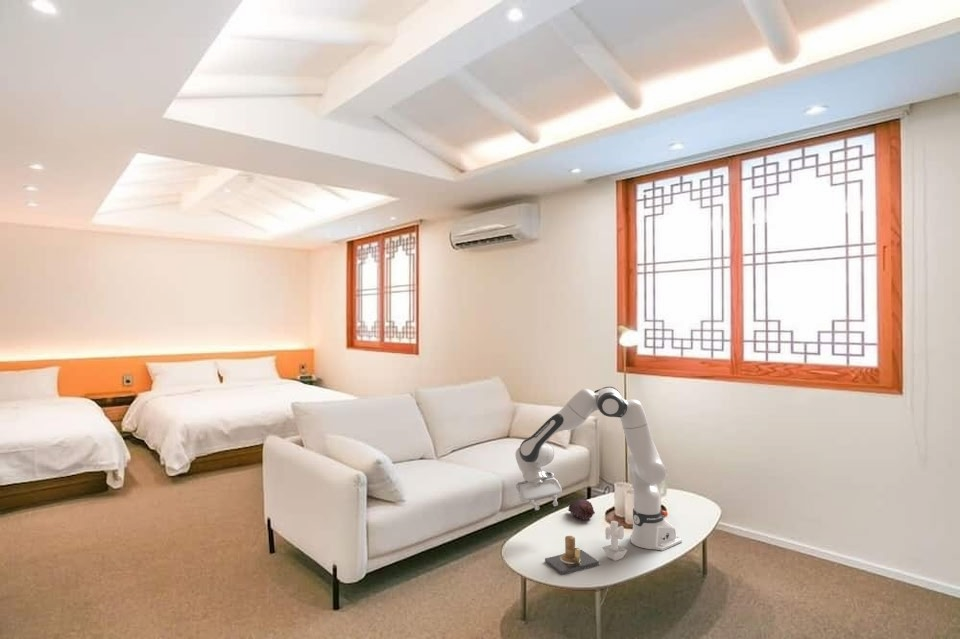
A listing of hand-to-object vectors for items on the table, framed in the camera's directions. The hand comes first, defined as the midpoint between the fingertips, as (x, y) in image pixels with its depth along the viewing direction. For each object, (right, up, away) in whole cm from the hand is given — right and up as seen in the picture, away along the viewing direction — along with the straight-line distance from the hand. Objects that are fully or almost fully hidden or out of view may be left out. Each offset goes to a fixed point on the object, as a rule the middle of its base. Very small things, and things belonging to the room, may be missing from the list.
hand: (547, 507), depth 232 cm
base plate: (+8, -17, -17) cm, 25 cm away
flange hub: (+8, -15, -16) cm, 23 cm away
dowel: (+10, -15, -20) cm, 27 cm away
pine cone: (+22, -17, +32) cm, 42 cm away
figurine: (+27, -17, -12) cm, 34 cm away
